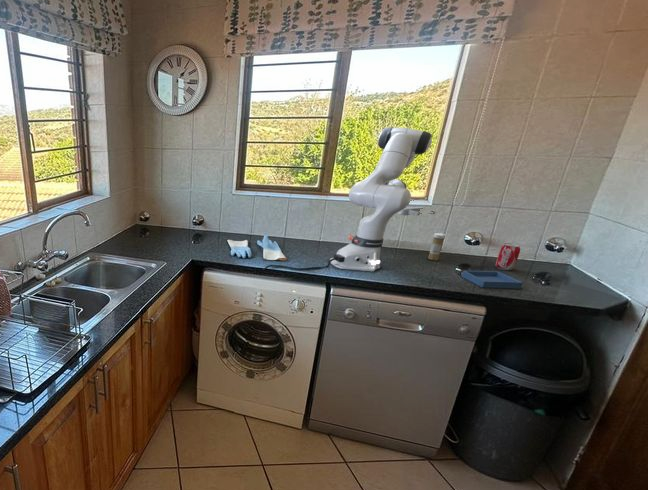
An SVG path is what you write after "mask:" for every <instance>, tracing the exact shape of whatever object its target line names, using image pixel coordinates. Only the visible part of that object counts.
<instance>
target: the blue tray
mask: <svg viewBox="0 0 648 490" xmlns="http://www.w3.org/2000/svg"><path fill="white" fill-rule="evenodd" d="M460 276H461V277H462V278H463V279H465V280H467V281H469V282H470V283H472V284H475V285H477V286H478V287H481V288H482V289H485V288H486V289H517V290H519V289H521V288H522V285H523V281H520V280H518V279H516V278H514V277H511V276H510V275H507V274H506V273H503V272H501V271H499V270H497V271H496V270H462V272H461V275H460Z"/></svg>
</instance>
